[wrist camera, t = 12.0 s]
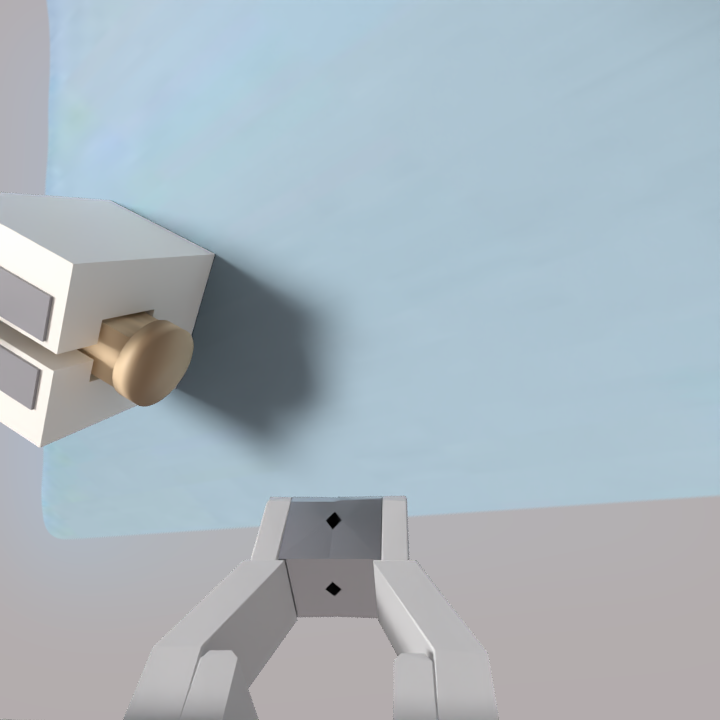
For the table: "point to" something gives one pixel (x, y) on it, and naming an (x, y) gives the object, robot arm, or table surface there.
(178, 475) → the table surface
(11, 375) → the tuner housing
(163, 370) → the peg
